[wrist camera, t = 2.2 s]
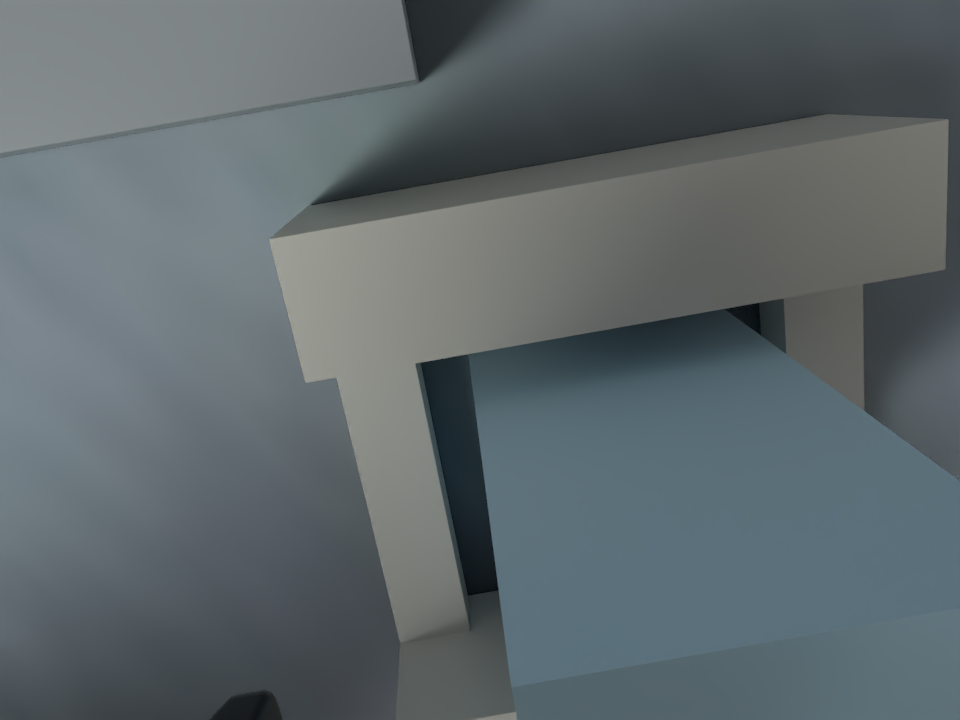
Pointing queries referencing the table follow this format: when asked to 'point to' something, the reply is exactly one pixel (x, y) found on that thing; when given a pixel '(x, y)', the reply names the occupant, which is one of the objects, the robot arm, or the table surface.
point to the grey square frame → (584, 311)
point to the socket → (185, 62)
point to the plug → (711, 534)
